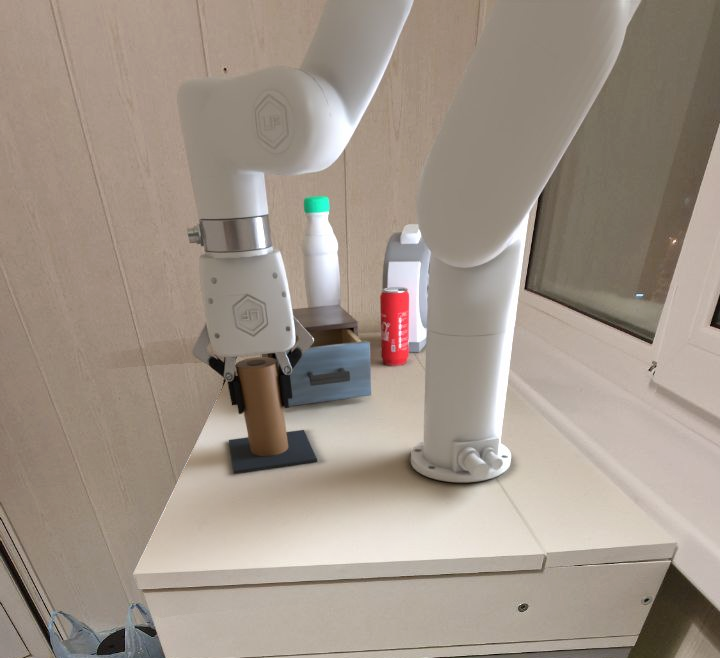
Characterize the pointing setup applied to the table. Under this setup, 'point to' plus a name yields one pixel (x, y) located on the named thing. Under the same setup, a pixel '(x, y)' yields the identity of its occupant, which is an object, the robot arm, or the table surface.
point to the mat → (294, 455)
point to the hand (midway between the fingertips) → (262, 406)
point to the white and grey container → (410, 278)
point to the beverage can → (394, 325)
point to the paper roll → (262, 405)
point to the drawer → (331, 368)
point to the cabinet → (323, 320)
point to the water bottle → (320, 255)
